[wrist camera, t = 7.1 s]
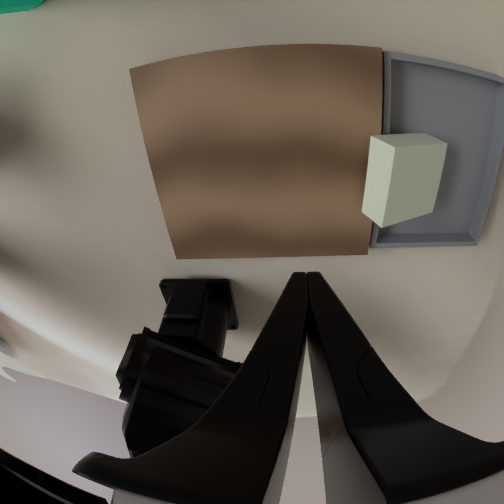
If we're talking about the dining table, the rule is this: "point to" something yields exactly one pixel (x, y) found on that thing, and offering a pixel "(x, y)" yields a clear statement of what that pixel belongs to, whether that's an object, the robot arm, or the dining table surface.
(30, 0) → the candle
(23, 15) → the dining table surface
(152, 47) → the dining table surface
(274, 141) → the walnut board
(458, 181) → the tray
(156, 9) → the dining table surface
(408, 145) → the tile
